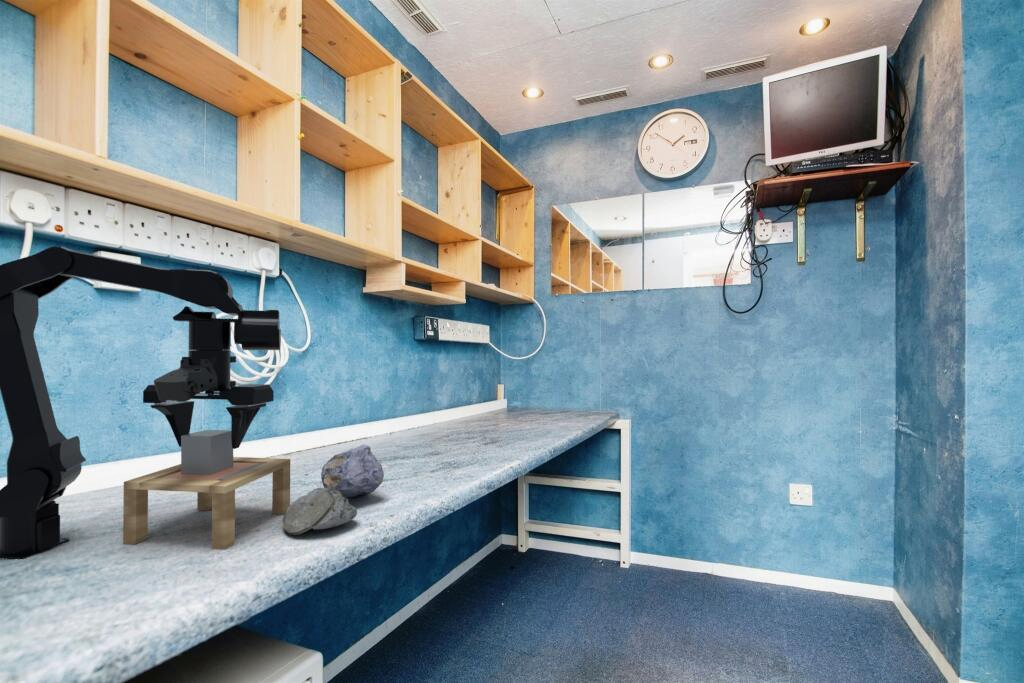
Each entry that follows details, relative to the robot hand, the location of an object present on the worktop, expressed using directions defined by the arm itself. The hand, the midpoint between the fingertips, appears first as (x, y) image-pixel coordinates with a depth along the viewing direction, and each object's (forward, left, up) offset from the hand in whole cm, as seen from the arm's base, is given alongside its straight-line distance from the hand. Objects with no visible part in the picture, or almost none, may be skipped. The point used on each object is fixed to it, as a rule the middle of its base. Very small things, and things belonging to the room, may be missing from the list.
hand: (209, 447), depth 76 cm
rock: (+17, +14, -13) cm, 25 cm away
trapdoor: (+6, 0, -4) cm, 7 cm away
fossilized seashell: (+14, +3, -14) cm, 21 cm away
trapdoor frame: (+1, 0, -12) cm, 13 cm away
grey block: (0, 0, -4) cm, 4 cm away
